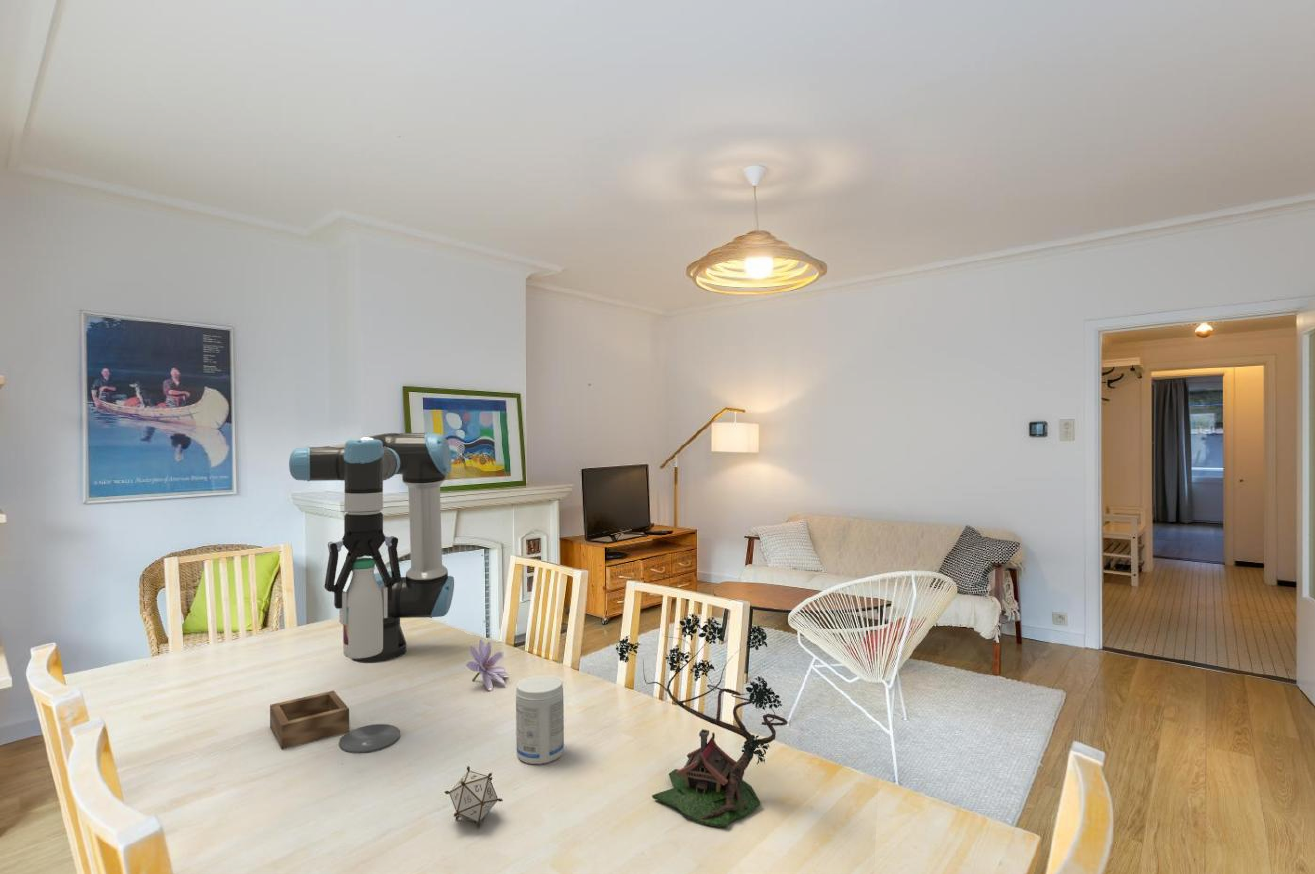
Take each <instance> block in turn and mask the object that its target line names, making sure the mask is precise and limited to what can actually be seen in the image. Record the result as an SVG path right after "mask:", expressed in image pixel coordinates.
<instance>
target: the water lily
mask: <svg viewBox="0 0 1315 874" xmlns="http://www.w3.org/2000/svg"><path fill="white" fill-rule="evenodd" d="M478 642H479V643H478V650H477V649H476V648H475V647H474V646H472V645H469V651H470V653H471V656H472V658H473V660H474V661H471V660H470V661H468V662H466V665H465V667H467V668H468V669H469V670H471V671H473V672H477V673H476V674H475V676H474V677H473V678H472V679H471V681H472V682H475V680H476V679H477V678H478V677H479V676H480V675H481V676H482V681H483V684H484V686H485V687H486V689H487V690H488V691H489V688H492V689H493V688H494V687H493V683H492V680H494V681H496V682H498V683H500V684H503V685H506V683H505V680H504V678H503V677H504V676H507V675H508V676H509V674H508V672H507V668H505V667H503V666H497V664H499V663H500V662H501V661H502V660H503V658H504V652H503V651H499V652H496V653H494V654H493V655H492V656H491V654H492V644H491V642H490V641H488V642H487V643H486V644H485V642H484V641H483V639H481V638H480V640H479V641H478Z"/></svg>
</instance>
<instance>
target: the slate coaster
mask: <svg viewBox="0 0 1315 874" xmlns="http://www.w3.org/2000/svg"><path fill="white" fill-rule="evenodd" d="M400 738H401V729H400V728H398V726H395V725H392V724H386V723H377V724H376V723H375V724H368V725H363V726H359V727H356V728H353V729H352V730H349V732H347V733H343V734H342V736H341V737H340V738H339V741H338V746H339V748H340V749H341V751H344V752H346V753H353V754H365V753H372V752H377V751H380V750H383V749H387V748H389V747H390V746H392V745H394V744H396V743H397V742H398V741H399V740H400Z"/></svg>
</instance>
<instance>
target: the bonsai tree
mask: <svg viewBox="0 0 1315 874" xmlns="http://www.w3.org/2000/svg"><path fill="white" fill-rule="evenodd" d="M689 616H690V617H691V618H690V617H689ZM678 623H679V624H680V626H682V627H680V628H677V630H680V629H681V635H683V637H684V638H686V637H687V636H690V642H692V640H693V639H694V638H693V637H694V634H697V631H698V628H699V629H700V630H701V631H702V632H700V633H699V634H698V637H699V638H704V639H705V641H706V643H705V644H704V645H703V646H702V647H701V648H700V649H699V650H698V651H697V652H696V654H694V655H693V653H692V652H693V648H692V646H691V645H690V643H689V642H688V641H686V640H685V639H682V638H678V637H676V639H677V640H678V639H679V640H682V641H684V642H686V643H687V644H688V645H689V647H690V649H691V653H690V651H687V652H685V653H684V652H681V651H680V647H679V646H680V645H681V644H680V643H679V644H676V645H675V646H674V647H673V648H672V649H669V655H668V653H666V656H665V660H666V661H667V664H668V665H669V666H670V667H669V670H670V672H674V673H675V674H674V675H673V676H672V677H671V678H670V679H669V681H668V684H667V686H666V687H665V686H664V685H663V684H661V682H658V681H652V682H647V681H646V677H645V676H646V675H643V680H644V682H645V684H647V685H650V684H657V685H658V686H660V687H661V688H663V689H664V690H665V691H666V692H667V693H668V696H669V697H670V699H671V700H672V701H673V702H675V704H676V705H677V706H679V707H680V708H682V709H683V710H685V711H686V712H687V713H690V714H691V715H693V716H695V717H697V718H699V719H702V720H703V721H705V722H708V723H710V724H712V725H714V726H718V727H720V728H722V729H725V730H727V731H730V732H732V733H734V734H737V735H739V736H741V737H743V738H744V739H745V741H744V742H743V743H744V744H743V746H742V747H741V752H742V754H741V756H740V757H739V758H738V760H737V761H736V760H734V759H733V758H732V757H731V756H729V755H728V754H727V753H726V752H725V751H724V750H723V749H722V748H721V747H719V745H718V744H717V743H716V740H715V736H716V735H715V734H716V733H715V732H712V733H711V734H712V736H711V737H710V739H709V740H708V737H709V734H710V730H708V729H703V728H702V729H701V730H700V732H699V734H698V735H699V736H698V737H700V747H699V748H697V749H695V750H693V751H691V752H689V753H688V754H687V755H686V757H687V758H688V759H687V761H686V763H685V765H684V766H683V767H682V768H681V769H679V768H678V769H677V768H675V769H673V770H671V771H670V772H669V773H668V776H669V780H670V781H671V785H672V787H673V788H670V789H666V790H663V791H660V792H657V793H655V794H652V795H651V797H652V799H654V800H656V801H659V802H661V803H664V804H665V805H668V806H671V807H674V808H676V809H678V810H679V811H680V813H681V814H683V815H684V816H685V817H688V818H690V819H692V820H694V821H696V822H698V821H699V823H701V824H703V825H705V826H707V825H709V827H718V828H720V827H721V828H727V827H728V826H729V824H731V822H733V821H736V820H738V819H742V817H743V818H745V817H746V816H748V815H749V814H750V813H751V812H753V811H754V810H756V809H757V808H758V807H760V806H761V801H760V800H759V798H758V796H757V794H756V792H755V790H754V788H753V787H752V786H751V784H750V783H748V782H746V781H745V780H744V779H743V777H744V774H745V771H746V769H747V768H748V766H749V765H750V762H751V761H752V759H753V758H754V755H755V756H756V757H757V763H756V765H759V764H760V763H764V764H765V763H766V762H765V761H766V758H765V756H766V754H767V751H766V750H768V749H769V748H771V746H770V745H769V743H771V742H773V741H775V739H776V737H777V736H776V734H777V731H776V730H775V728H774V726H775V727H776V726H777V727H778V726H786V725H788V724H789V722H788V721H787V720H786V719H785V718H784V717H782V716H779V715H776V713H775V710H774V709H773V708H775V709H777V708H779V707H783V704H782V700H779V699H780V695H779V694H776V693H775V692H774V691H773V690H774V689H772V687H769V688H767V687H768V682H767V681H766V680H765V679H764V677H762V676H758V675H757V677H754V679H755V680H756V681H757V682H758V683H757V682H756V681H749V684H747V686H748V687H745V691H746V692H747V693H746V695H749V697H748V698H745V697H741V696H742V695H743V696H744V695H745V693H741V692H739V691H736V690H734V689H731V688H720V687H718V686H719V685H720V684H721V681H722V679H723V673H724V670H725V668H726V666H727V664H728V663H729V661H730V660H731V659H732V658H733V656H731V657H730V658H729V659H728V660H727V661H726V662H725V663H726V664H725V665H724V666H723V669H722V672H721V676H720V680H719V681H718V682H717V684H716V685H714V683H712V682H711V683H712V685H711V684H707V686H706V687H707V688H709V689H710V690H708V691H706V692H704V693H702V694H699V695H698V696H694V697H692V698H688V699H684V700H678V699H677V698H676V697H675V696H674V695H673V694H672V692H671V689H670V686H671V683H672V681H673V680H674V679H675V677H676V676H677V675H678V674H679V673H680V672H681V671H682V670H683V669H684V668H685V667H686V666H687V665H688V664H689V663H690V662H691V661H693V659H694V658H695V657H696V656H697V655H698V654H699V653H700V652H701V651H702V649H704V647H705V646H706V645H707V644H709V645H710V644H712V643H713V644H716V643H717V642H716V639H718V640H719V641H721V642H724V637H723V635H722V633H723V632H724V628H723V627H719V626H722V624H721V623H719V622H718V621H717V620H716V619H715V617H713V616H712V617H709V618H707V621H703V624H704V625H703V626H702V627H701V625H700V624H699V623H700V618H698V615H696V614H695V613H691V614H688V616H683V618H682V619H681V620H679V622H678ZM706 623H707V624H706ZM750 628H751V630H750V631H749V635H748V636H747V638H748V640H747V641H746V644H745V645H744V646H746V645H747V647H746V649H753V648H754V649H755V650H756V651H759V647H761V646H763V645H764V646H765V647H766V648H768V643H767V641H766V640H767V637H768V636H767V634H766V631H765V629H764V628H762V625H752V626H751V627H750ZM664 634H666V632H665V633H663V637H665V638H666V636H664ZM629 636H631V635H626V636H625V637H623V639H621V640H619V641H618V642H619V645H618V643H616V644H615V645H616V646H615V651H616V654H618V656H619V658H618V659H619V662H620V661H623V662H624V663H625V664H627V663H629V662H630V659H629V656H630V655H631V656H635V657H636V655H635V654H638V650H637V649H638V648H639V646H642V644H641V643H639V642H635V643H632V642H629V639H630V638H629ZM669 638H670V639H674V637H673V636H671V637H670V636H669ZM744 646H743V647H744ZM739 651H740V649H738V650H737V651H736V653H738V652H739ZM631 652H633V653H634V654H633V653H631ZM686 654H687V655H686ZM690 655H691V658H690ZM689 658H690V659H689ZM688 659H689V660H688ZM642 662H643V663H642V664H643V665H642V666H643V667H642V670H643V673H645V669H644V668H645V667H644V666H645V665H644V663H645V662H644V660H642ZM683 662H685V664H684V663H683ZM711 663H712V661H708V660H704V659H700V660H699V662H697V661H695V662H694V664H693V666H692V668H690V669H689V670H690V674H692V673H694V674H693V675H694V678H693V679H694V682H697V681H698V679H700V678H701V676H706V677H707V678H708V679H709V681H711V679H710V676H709V675H708V673H709V672H710V671H711V670H713V671H714V672H716V669H715V667H714V665H713V664H711ZM680 665H683V666H682V667H681V666H680ZM694 669H695V670H694ZM749 685H750V686H749ZM751 686H752V687H751ZM716 690H719V692H718V693H717V694H718V695H717V707H716V708H717V710H716V718H714V717H711V716H708V715H706V714H704V713H701V712H699V711H697V710H696V709H693V708H691V707H689V706H687V705H686V704H684V703H688V702H691V701H694V700H697V699H700V698H701V697H704V696H706V695H707V694H709V693H711V692H712V691H713V692H716ZM724 692H726V693H729V694H730V696H731V697H733V698H736V699H740V700H743V701H744V702H741V703H738V704H736V705H735V706H734V707H733V710H732V714H733V718H734V720H735V722H736V723H737V725H738V726H736V725H733V724H732V723H728V722H724V721H722V720H721V713H722V712H721V710H722V694H723V693H724ZM750 704H752V705H754V706H755V709H756V710H757V709H758V710H760V709H762V710H763V711H765V710H766V708H767V707H768V709H771V710H772V712H773V713H774V714H772V713H766V714H763V715H762V719H763V721H762V722H760V723H761V725H763V726H766V727H768V730H770V732H771V735H770V736H767V737H763V738H759V736H760V735H758V734H757V735H756V736H755V735H754V734H751V733H750V731H748V730H747V728H746V726H745V725H744V723H743V722H742V721H741V719H740V718H739V716H738V714H737V711H738V709H739V708H740V707H743V706H746V705H747V706H748V705H750ZM767 705H768V706H767ZM769 718H770V720H769ZM774 720H778V721H780V722H773V721H774Z"/></svg>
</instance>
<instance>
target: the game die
mask: <svg viewBox="0 0 1315 874" xmlns="http://www.w3.org/2000/svg"><path fill="white" fill-rule="evenodd" d="M466 770H467V772H466V773H465V774H463V776H462V777H461V778H460V780H459V781H458V782H457V783H456V784H455V785H454V787H453V788H452V789H451V790H450V791H449V790H445V791H444V794H445V795H449V796H450V799H451V802H452V804H453V807H454V810H455V813H453V817H454V818H455V821H457V820H459V818H462V819H466V820H469V821H472V822H474V823H477V827H478V828H479V829H481V826H482V825H481V821H482V820H483V819H484V818H485V817H486V815H487V814H488V813H489V812H490V810H491V809H492V808H493V807H494V805H496V803H498V802H500V803H501V802H503V801H504V800H503V799H502V798H501V797H500V798H499V797H498V795H497V793H496V790H495V788H494V785H493V782H492V780H493V772H489V773H488V775H485V774H483V773H478V772H476V771H472V770H471V767H470V766H469V765H467V766H466Z"/></svg>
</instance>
